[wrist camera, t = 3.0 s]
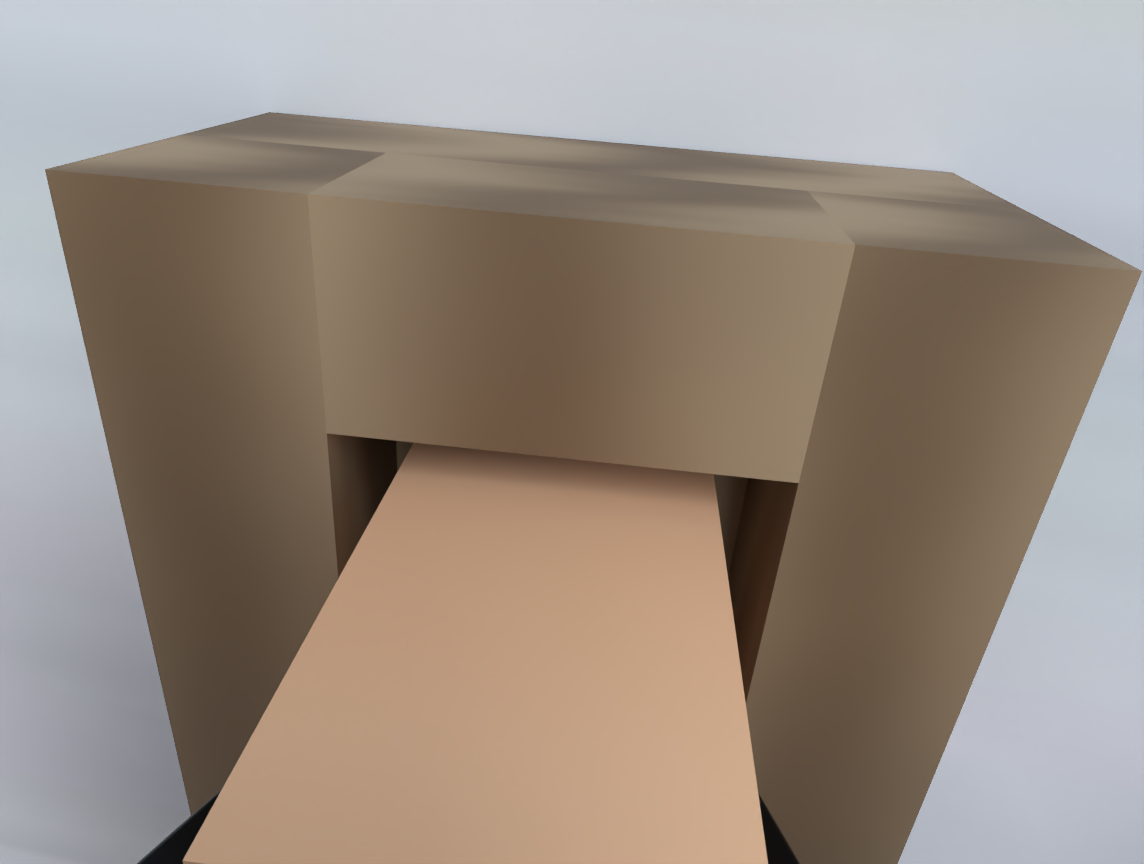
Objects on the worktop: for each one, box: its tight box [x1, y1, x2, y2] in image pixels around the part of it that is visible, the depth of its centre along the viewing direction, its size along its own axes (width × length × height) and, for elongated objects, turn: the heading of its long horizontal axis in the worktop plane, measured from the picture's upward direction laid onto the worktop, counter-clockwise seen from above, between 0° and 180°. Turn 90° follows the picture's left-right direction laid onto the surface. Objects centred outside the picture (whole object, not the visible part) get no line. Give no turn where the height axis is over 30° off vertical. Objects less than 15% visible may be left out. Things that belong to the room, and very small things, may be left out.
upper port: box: [45, 112, 1142, 864], centre depth 14 cm, size 12×12×6 cm
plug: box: [183, 443, 768, 864], centre depth 10 cm, size 4×4×7 cm
